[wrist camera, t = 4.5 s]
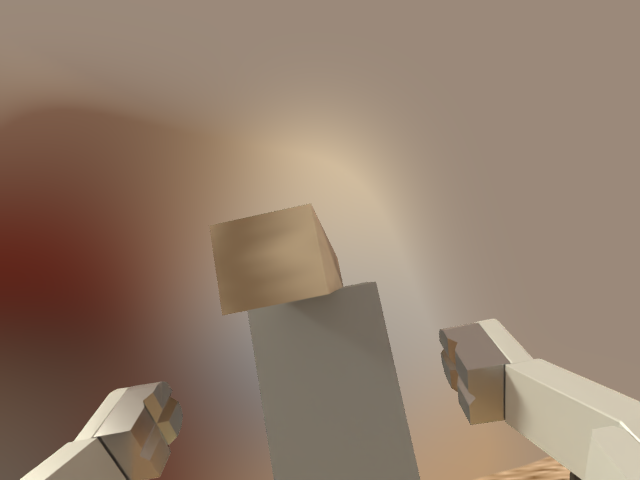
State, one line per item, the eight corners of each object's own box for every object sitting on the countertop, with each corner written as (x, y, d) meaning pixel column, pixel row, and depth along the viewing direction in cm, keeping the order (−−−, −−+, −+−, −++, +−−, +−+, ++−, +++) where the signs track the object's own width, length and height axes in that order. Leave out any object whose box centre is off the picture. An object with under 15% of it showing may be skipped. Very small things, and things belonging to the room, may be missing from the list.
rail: (222, 315, 10) (209, 225, 10) (309, 293, 32) (304, 264, 32) (328, 294, 10) (310, 203, 10) (343, 286, 31) (337, 257, 32)
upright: (320, 867, 14) (236, 309, 18) (334, 593, 27) (282, 298, 31) (516, 852, 14) (385, 279, 18) (436, 579, 27) (370, 281, 31)
